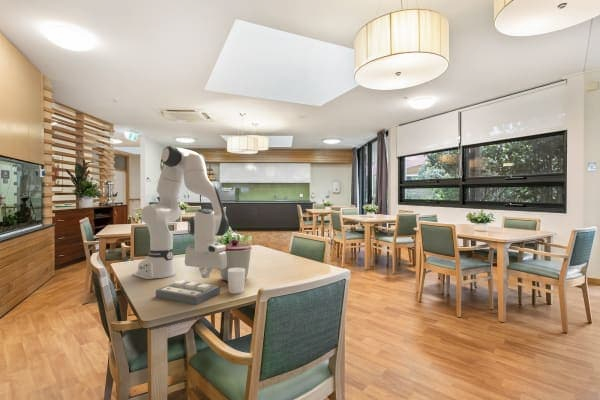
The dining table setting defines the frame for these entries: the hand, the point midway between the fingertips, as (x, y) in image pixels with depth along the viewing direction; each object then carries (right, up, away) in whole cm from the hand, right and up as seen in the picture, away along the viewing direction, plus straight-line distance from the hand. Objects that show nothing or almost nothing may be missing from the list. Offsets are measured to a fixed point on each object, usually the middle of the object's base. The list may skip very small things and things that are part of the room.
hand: (205, 277), depth 128 cm
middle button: (-7, -6, +2) cm, 9 cm away
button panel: (-8, -8, 0) cm, 11 cm away
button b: (-1, -6, 0) cm, 6 cm away
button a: (-13, -6, +5) cm, 15 cm away
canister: (+7, -8, +26) cm, 28 cm away
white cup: (+12, -8, +7) cm, 16 cm away
